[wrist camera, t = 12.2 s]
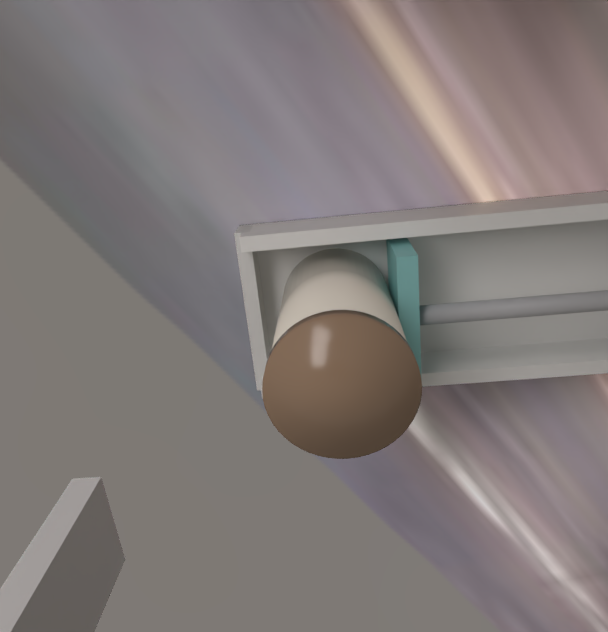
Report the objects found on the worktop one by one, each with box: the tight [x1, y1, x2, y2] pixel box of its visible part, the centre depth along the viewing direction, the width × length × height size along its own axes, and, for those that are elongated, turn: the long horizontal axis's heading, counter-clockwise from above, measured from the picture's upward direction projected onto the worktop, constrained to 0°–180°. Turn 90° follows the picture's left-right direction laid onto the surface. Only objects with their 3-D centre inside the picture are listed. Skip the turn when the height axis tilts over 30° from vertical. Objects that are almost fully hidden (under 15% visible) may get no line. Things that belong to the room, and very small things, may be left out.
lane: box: [234, 191, 608, 398], centre depth 29 cm, size 9×22×5 cm, turn 96°
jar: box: [262, 248, 422, 459], centre depth 27 cm, size 6×6×11 cm
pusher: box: [386, 238, 608, 380], centre depth 29 cm, size 7×18×4 cm, turn 96°
